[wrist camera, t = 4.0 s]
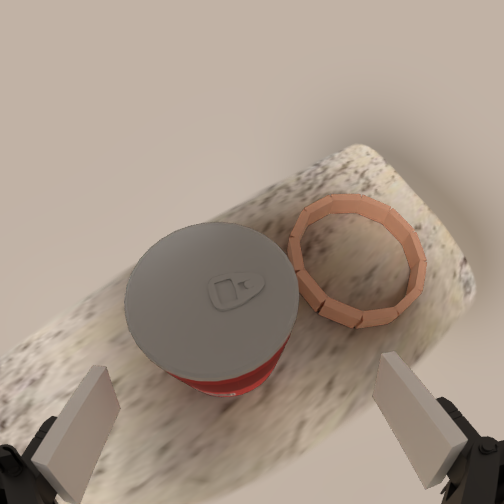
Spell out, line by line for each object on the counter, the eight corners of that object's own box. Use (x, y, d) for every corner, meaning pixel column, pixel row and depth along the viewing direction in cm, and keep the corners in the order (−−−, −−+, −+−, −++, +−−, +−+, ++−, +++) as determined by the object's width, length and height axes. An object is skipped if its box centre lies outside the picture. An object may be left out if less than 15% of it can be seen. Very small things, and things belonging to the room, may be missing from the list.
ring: (351, 357, 22) (359, 351, 20) (260, 244, 27) (261, 231, 25) (437, 275, 26) (447, 265, 24) (355, 190, 31) (360, 177, 29)
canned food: (298, 360, 22) (336, 310, 12) (209, 417, 19) (173, 416, 10) (242, 286, 25) (238, 196, 16) (159, 335, 23) (100, 269, 13)
